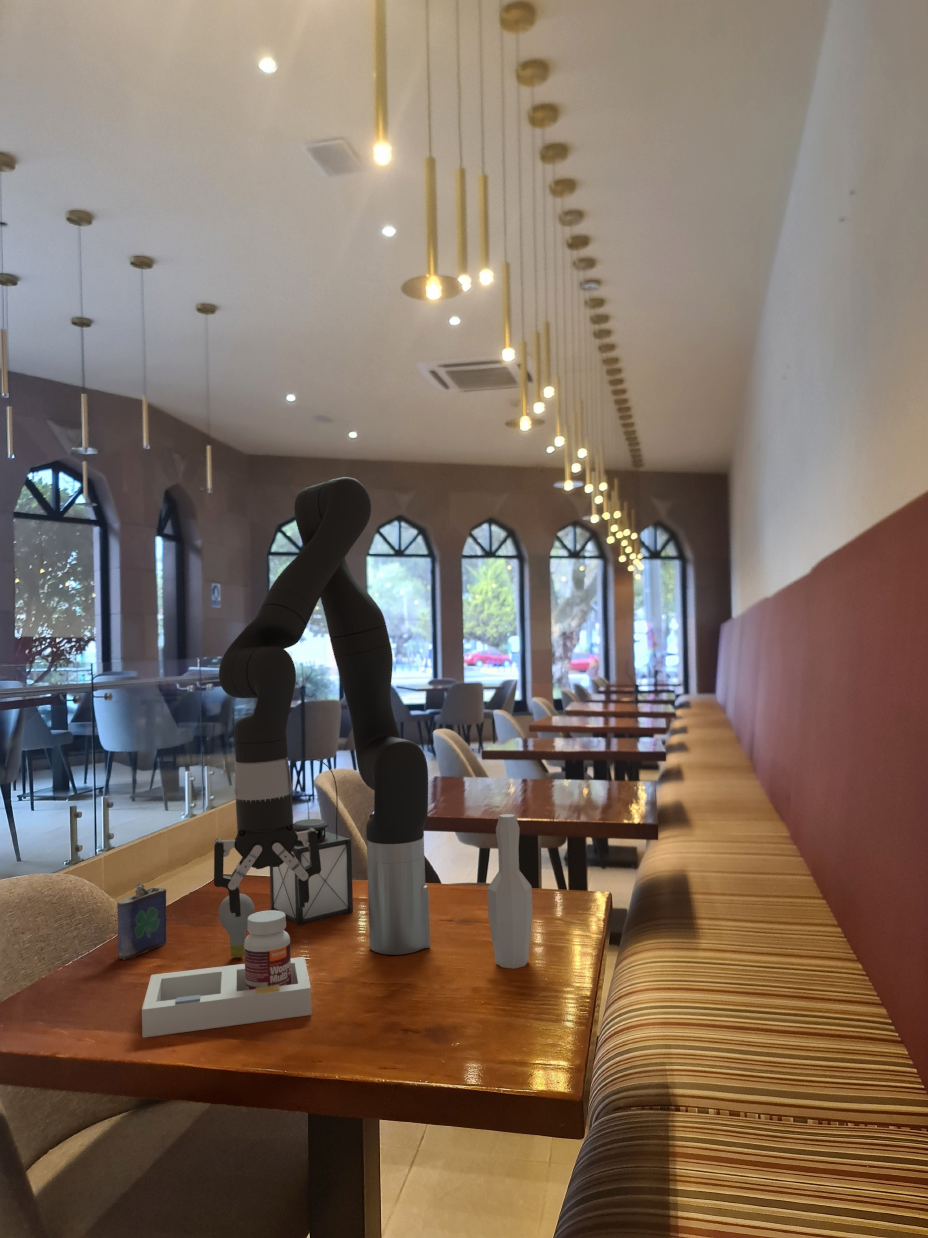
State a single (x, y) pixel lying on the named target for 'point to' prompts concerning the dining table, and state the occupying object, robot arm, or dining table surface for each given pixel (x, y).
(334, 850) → the lantern
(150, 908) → the flask
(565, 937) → the dining table surface
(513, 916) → the faceted bottle
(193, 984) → the socket block
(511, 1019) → the dining table surface
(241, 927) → the light bulb
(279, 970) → the pill bottle
